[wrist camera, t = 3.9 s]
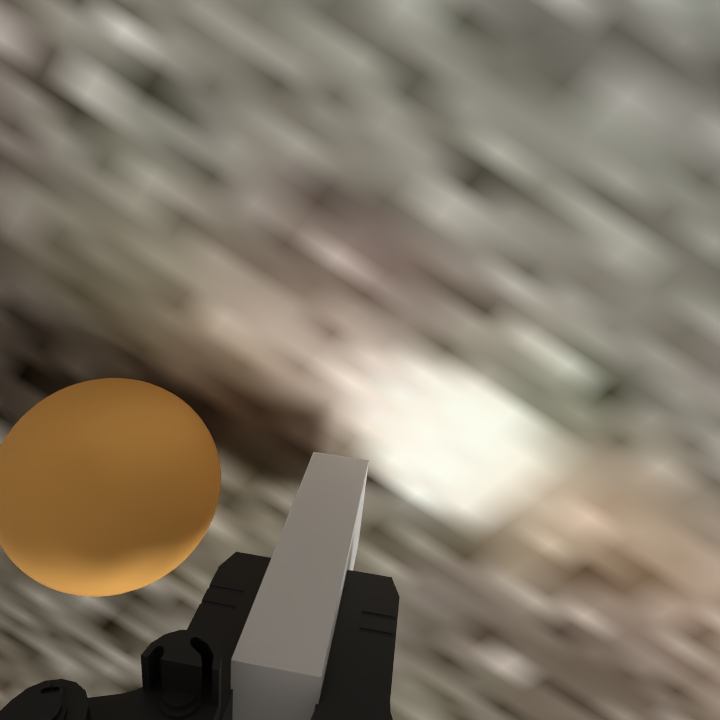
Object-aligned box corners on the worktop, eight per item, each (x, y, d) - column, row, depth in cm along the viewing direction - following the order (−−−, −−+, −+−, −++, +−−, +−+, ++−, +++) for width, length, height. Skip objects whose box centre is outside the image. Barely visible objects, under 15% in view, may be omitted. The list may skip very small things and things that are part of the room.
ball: (158, 532, 19) (54, 678, 14) (40, 405, 18) (-119, 516, 13) (284, 458, 17) (217, 594, 12) (163, 311, 16) (34, 397, 11)
